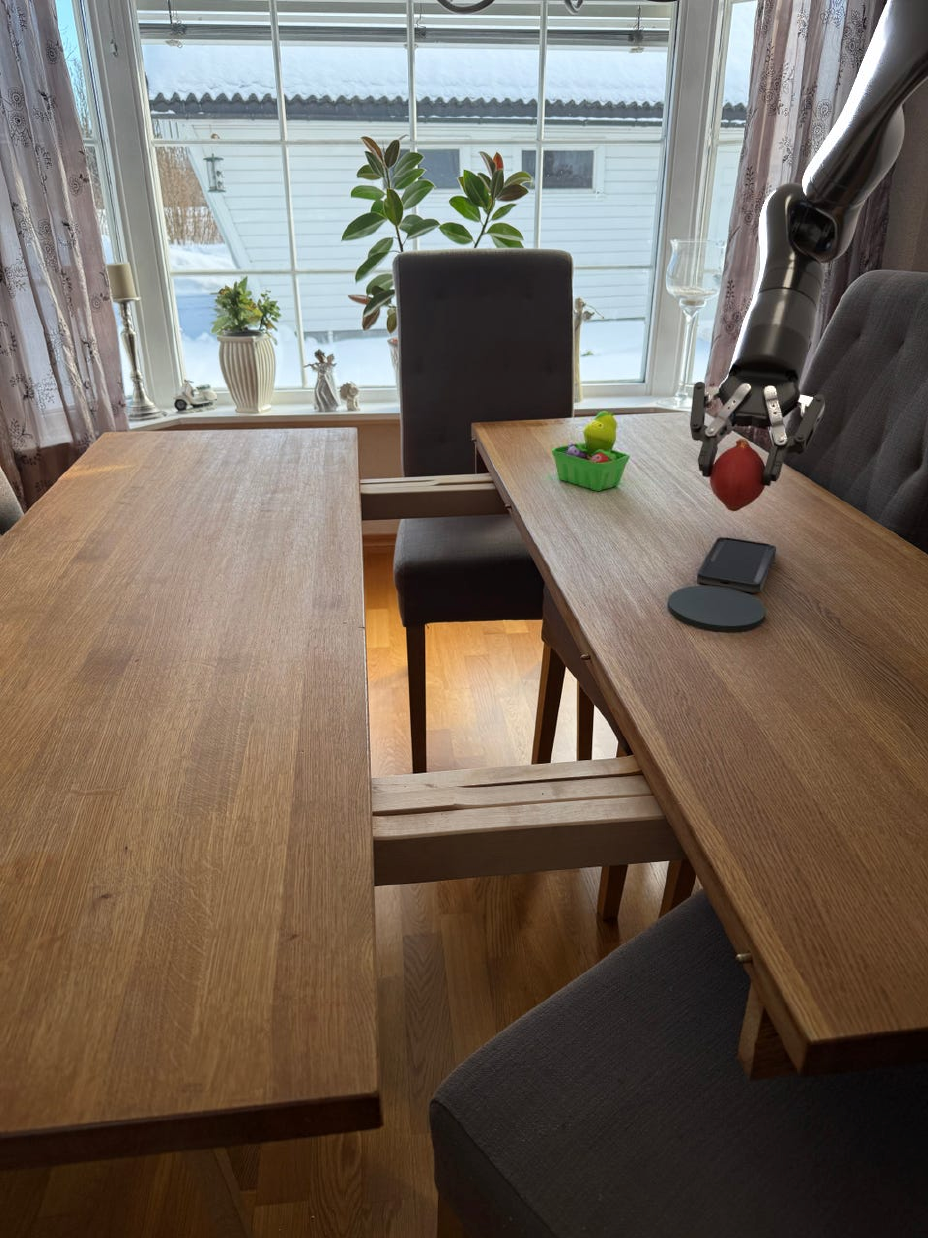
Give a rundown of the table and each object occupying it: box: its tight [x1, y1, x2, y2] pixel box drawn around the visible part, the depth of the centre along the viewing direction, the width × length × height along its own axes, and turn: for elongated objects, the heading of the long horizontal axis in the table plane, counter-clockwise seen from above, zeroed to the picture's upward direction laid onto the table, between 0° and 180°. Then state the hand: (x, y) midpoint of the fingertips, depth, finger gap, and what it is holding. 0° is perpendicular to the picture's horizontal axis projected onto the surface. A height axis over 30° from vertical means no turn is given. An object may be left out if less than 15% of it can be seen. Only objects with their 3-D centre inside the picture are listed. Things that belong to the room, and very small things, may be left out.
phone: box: [695, 536, 777, 594], centre depth 114 cm, size 8×1×15 cm
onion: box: [709, 438, 766, 512], centre depth 94 cm, size 6×6×8 cm
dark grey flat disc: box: [666, 585, 767, 633], centre depth 102 cm, size 11×11×1 cm
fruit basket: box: [551, 410, 631, 492], centre depth 145 cm, size 11×9×11 cm
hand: (735, 477), depth 93 cm, fingers closed on onion, 5 cm apart
